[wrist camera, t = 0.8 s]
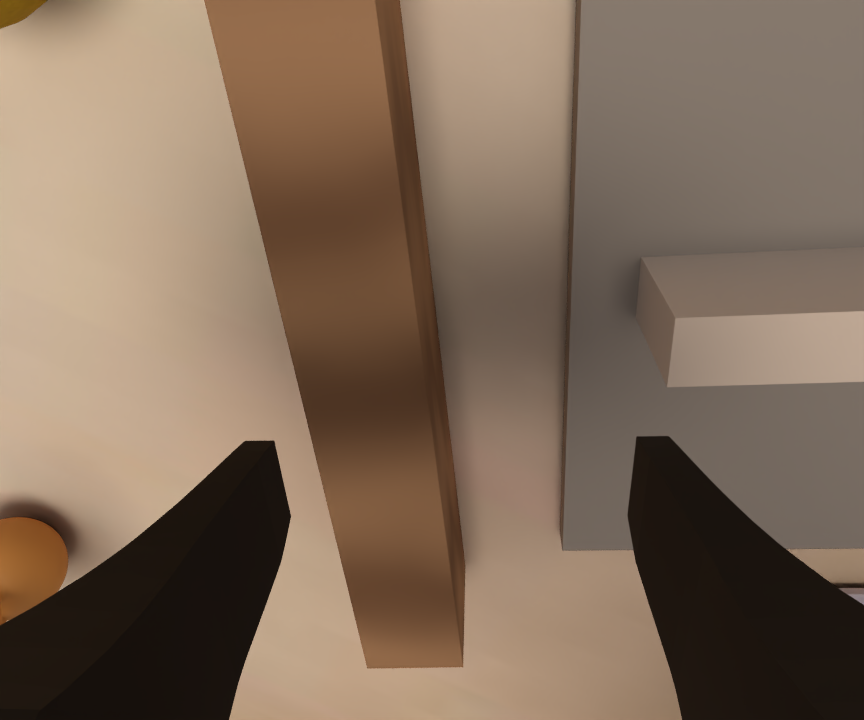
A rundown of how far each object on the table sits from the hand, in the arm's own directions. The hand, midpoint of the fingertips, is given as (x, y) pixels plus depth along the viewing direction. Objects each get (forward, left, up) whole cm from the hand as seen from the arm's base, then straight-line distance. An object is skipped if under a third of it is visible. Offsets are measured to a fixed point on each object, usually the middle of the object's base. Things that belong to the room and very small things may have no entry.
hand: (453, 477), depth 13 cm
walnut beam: (-2, +3, -10) cm, 10 cm away
